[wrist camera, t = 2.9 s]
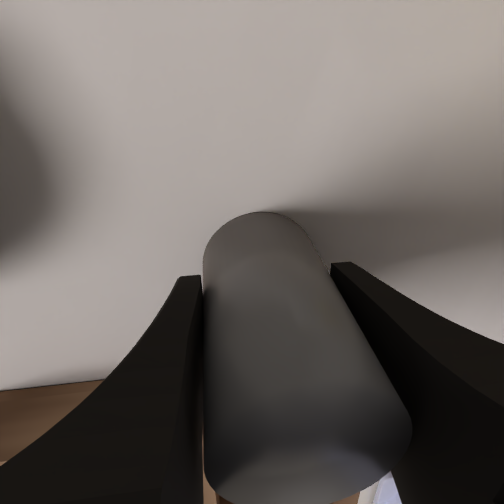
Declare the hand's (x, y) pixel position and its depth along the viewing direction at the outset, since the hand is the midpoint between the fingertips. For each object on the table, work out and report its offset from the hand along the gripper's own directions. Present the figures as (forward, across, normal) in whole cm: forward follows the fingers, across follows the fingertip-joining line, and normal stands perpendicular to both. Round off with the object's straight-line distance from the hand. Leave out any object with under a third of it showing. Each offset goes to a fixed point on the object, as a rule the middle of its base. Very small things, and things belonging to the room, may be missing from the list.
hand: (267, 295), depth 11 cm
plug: (+2, 0, 0) cm, 2 cm away
